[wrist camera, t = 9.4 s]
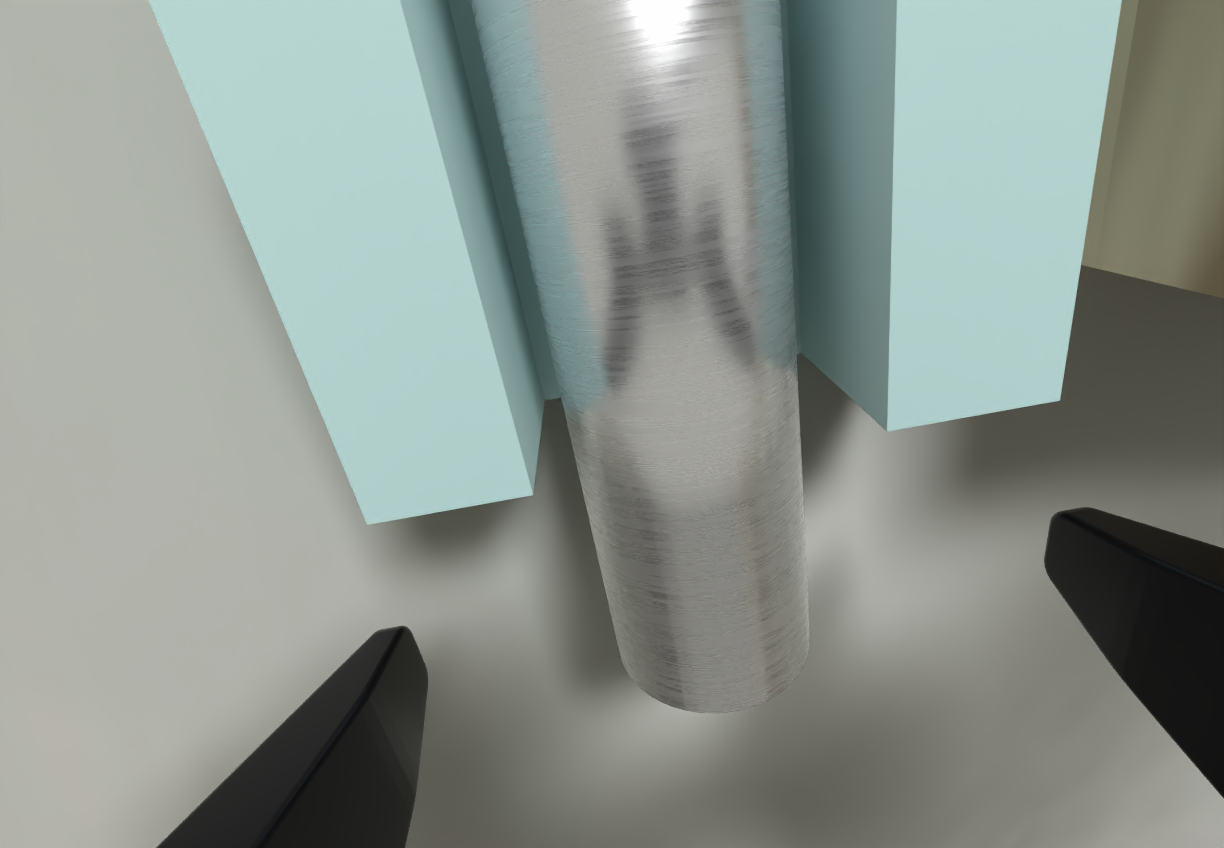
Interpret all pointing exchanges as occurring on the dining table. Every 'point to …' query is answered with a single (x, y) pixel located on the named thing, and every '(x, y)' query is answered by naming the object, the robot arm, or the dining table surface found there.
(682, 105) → the axle
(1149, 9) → the open beige box
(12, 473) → the dining table surface
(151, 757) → the dining table surface
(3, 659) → the dining table surface
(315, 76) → the cradle
